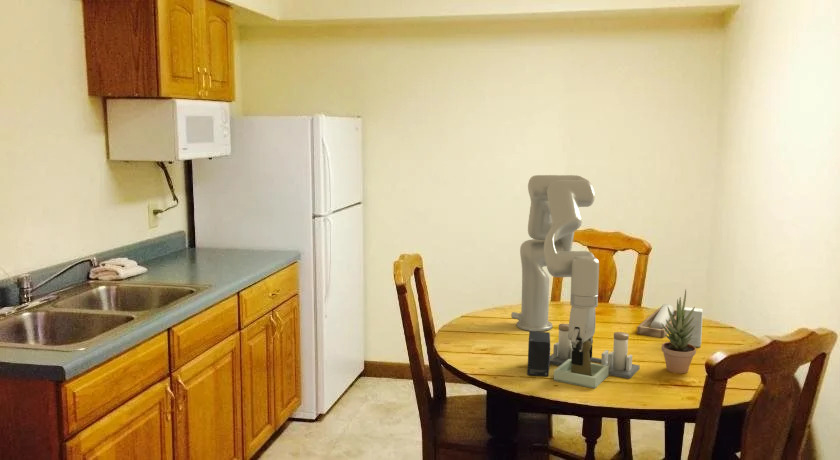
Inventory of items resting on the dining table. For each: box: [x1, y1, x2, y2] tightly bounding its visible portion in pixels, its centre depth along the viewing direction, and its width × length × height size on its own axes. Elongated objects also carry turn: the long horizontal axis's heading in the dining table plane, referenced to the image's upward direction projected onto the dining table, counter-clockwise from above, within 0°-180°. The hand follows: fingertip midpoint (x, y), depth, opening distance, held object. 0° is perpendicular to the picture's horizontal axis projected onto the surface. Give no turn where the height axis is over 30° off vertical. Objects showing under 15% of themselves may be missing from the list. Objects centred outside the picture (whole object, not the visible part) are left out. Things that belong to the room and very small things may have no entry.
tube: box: [650, 303, 675, 329], centre depth 263 cm, size 5×5×25 cm
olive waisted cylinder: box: [571, 338, 593, 376], centre depth 208 cm, size 6×6×11 cm
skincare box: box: [684, 306, 704, 348], centre depth 240 cm, size 6×4×12 cm
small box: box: [526, 331, 551, 377], centre depth 215 cm, size 11×6×10 cm, turn 170°
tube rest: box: [636, 307, 677, 338], centre depth 263 cm, size 9×30×2 cm, turn 148°
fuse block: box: [549, 323, 641, 380], centre depth 219 cm, size 26×10×11 cm, turn 58°
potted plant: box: [661, 289, 697, 374], centre depth 214 cm, size 10×10×25 cm
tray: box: [553, 359, 609, 390], centre depth 209 cm, size 12×12×3 cm
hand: (581, 360), depth 208 cm, fingers open, 7 cm apart
